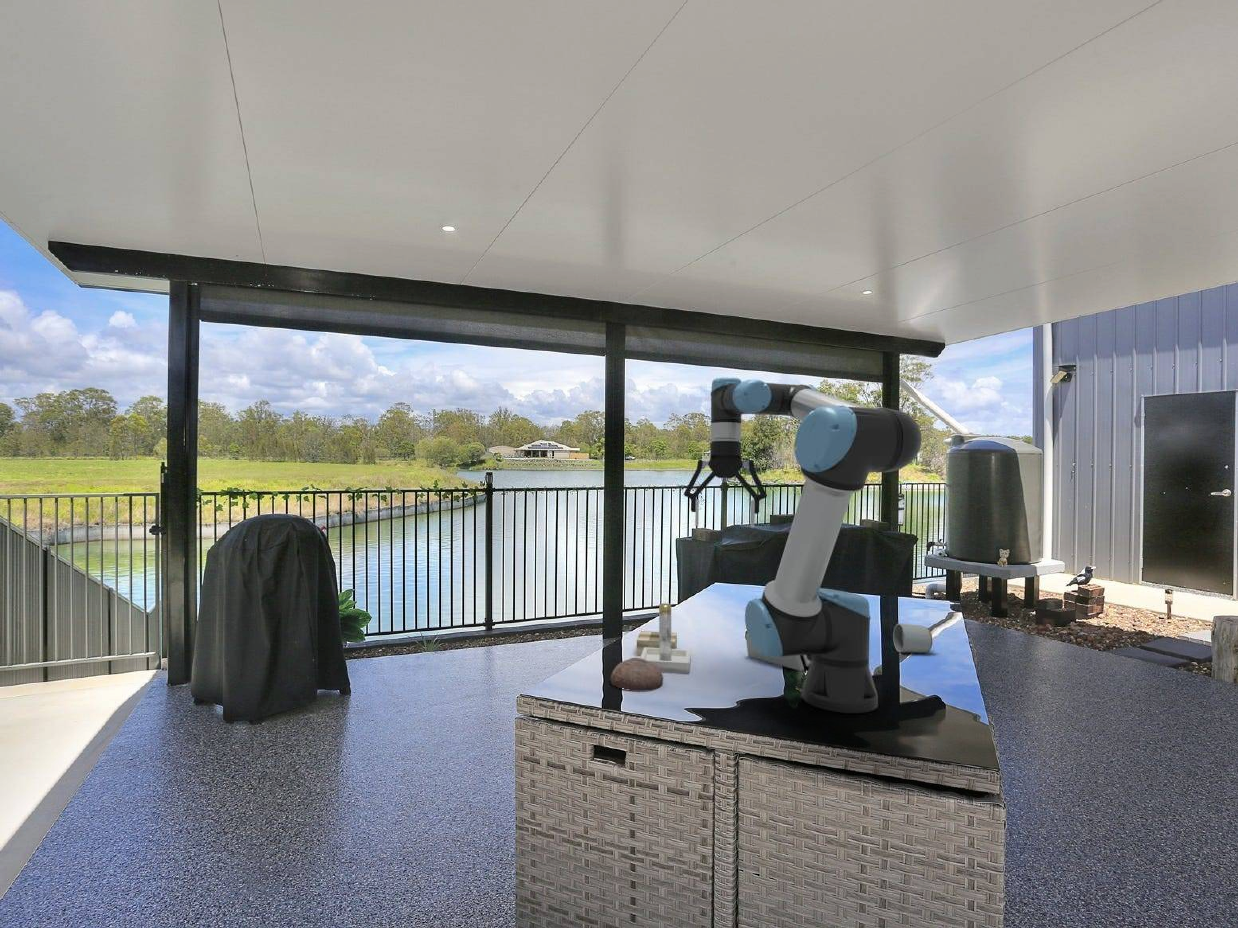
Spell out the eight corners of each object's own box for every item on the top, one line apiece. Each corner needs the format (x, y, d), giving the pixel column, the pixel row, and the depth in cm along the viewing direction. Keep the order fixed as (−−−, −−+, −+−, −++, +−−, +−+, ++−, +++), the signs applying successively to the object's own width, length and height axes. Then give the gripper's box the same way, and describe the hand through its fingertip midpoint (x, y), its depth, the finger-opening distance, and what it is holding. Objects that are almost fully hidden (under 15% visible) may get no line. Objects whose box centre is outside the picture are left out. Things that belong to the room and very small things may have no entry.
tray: (689, 673, 156) (689, 663, 156) (639, 670, 157) (639, 660, 157) (690, 659, 168) (690, 649, 168) (643, 656, 169) (643, 647, 169)
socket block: (674, 657, 169) (675, 642, 169) (636, 655, 171) (636, 640, 171) (676, 647, 179) (676, 632, 179) (640, 645, 180) (640, 630, 181)
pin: (671, 662, 161) (670, 606, 160) (659, 662, 161) (658, 606, 160) (671, 658, 164) (671, 603, 163) (659, 658, 164) (659, 603, 163)
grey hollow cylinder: (934, 656, 175) (934, 627, 175) (904, 655, 175) (904, 626, 175) (916, 646, 186) (916, 618, 186) (887, 645, 186) (887, 618, 186)
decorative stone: (620, 673, 156) (620, 650, 156) (668, 679, 152) (669, 655, 152) (602, 688, 145) (602, 663, 145) (654, 695, 141) (654, 669, 141)
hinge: (813, 667, 163) (805, 631, 161) (802, 677, 160) (795, 640, 158) (759, 652, 176) (751, 618, 174) (748, 661, 173) (740, 627, 171)
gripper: (775, 442, 165) (774, 526, 164) (676, 441, 168) (674, 523, 168) (778, 440, 157) (777, 529, 157) (674, 439, 160) (673, 526, 160)
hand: (724, 526), depth 162 cm, fingers open, 13 cm apart
